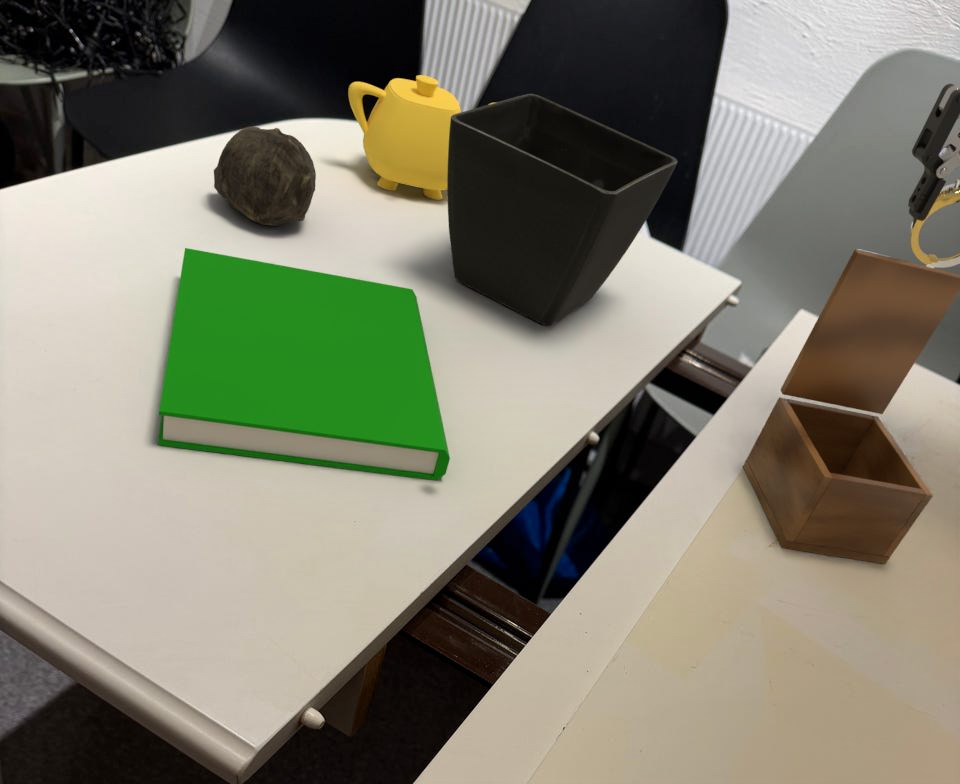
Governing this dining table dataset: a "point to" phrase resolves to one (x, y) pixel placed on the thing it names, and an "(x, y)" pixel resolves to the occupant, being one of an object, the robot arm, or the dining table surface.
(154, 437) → the dining table surface
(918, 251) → the ring
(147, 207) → the dining table surface
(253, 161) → the rock
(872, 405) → the lid
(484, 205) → the flower pot
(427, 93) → the teapot
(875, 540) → the open wooden box
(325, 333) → the book
